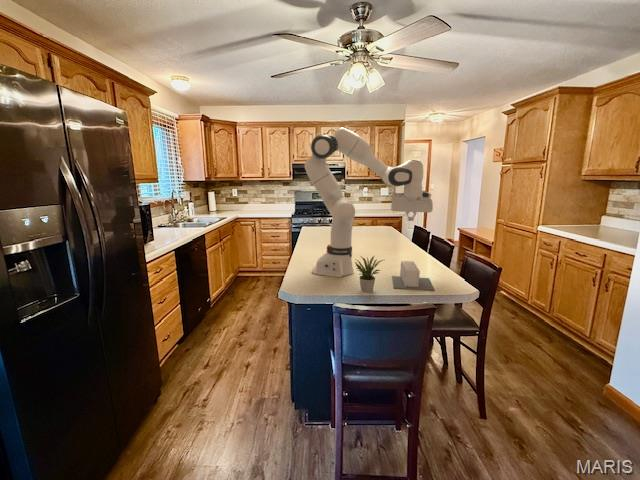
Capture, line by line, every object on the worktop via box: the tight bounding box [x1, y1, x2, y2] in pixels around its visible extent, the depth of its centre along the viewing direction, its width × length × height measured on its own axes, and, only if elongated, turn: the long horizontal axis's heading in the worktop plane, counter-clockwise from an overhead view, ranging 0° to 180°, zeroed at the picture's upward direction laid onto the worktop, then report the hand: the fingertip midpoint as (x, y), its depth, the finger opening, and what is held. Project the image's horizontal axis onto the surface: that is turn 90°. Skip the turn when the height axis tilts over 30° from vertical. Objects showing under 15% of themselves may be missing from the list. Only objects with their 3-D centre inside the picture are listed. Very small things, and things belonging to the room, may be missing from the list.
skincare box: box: [399, 260, 421, 287], centre depth 145 cm, size 8×7×16 cm
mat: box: [391, 275, 436, 292], centre depth 144 cm, size 18×16×1 cm
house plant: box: [354, 255, 384, 294], centre depth 135 cm, size 14×14×16 cm
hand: (410, 220), depth 154 cm, fingers closed
